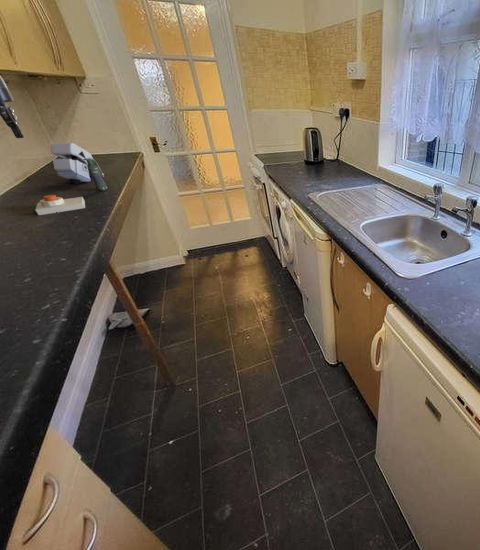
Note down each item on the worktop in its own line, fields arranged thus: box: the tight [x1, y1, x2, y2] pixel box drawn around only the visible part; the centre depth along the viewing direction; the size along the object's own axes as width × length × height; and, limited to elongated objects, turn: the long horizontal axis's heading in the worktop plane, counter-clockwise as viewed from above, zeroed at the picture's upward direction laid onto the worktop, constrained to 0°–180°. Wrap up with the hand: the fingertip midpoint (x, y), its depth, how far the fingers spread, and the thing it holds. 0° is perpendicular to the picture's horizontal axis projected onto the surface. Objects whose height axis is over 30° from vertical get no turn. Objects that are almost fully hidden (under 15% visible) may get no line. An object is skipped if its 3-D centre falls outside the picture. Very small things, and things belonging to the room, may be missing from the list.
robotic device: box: [50, 142, 105, 185], centre depth 155 cm, size 10×21×20 cm
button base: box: [35, 196, 86, 216], centre depth 121 cm, size 14×11×4 cm
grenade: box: [83, 157, 108, 192], centre depth 140 cm, size 4×4×15 cm
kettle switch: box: [43, 194, 58, 201], centre depth 118 cm, size 4×4×2 cm
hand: (20, 137), depth 118 cm, fingers closed
